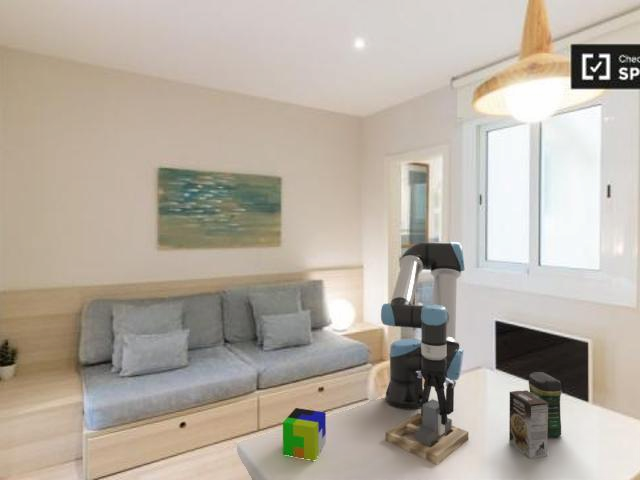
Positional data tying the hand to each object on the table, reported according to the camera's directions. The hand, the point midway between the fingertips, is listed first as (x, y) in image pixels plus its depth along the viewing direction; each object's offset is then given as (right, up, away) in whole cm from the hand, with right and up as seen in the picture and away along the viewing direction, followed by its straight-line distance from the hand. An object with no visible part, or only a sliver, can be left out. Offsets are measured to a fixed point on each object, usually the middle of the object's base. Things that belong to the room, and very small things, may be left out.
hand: (433, 430), depth 123 cm
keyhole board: (-2, -4, +2) cm, 5 cm away
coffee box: (+27, -4, -4) cm, 28 cm away
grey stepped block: (0, -3, 0) cm, 3 cm away
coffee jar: (+38, -4, +7) cm, 39 cm away
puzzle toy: (-40, -5, -3) cm, 40 cm away
